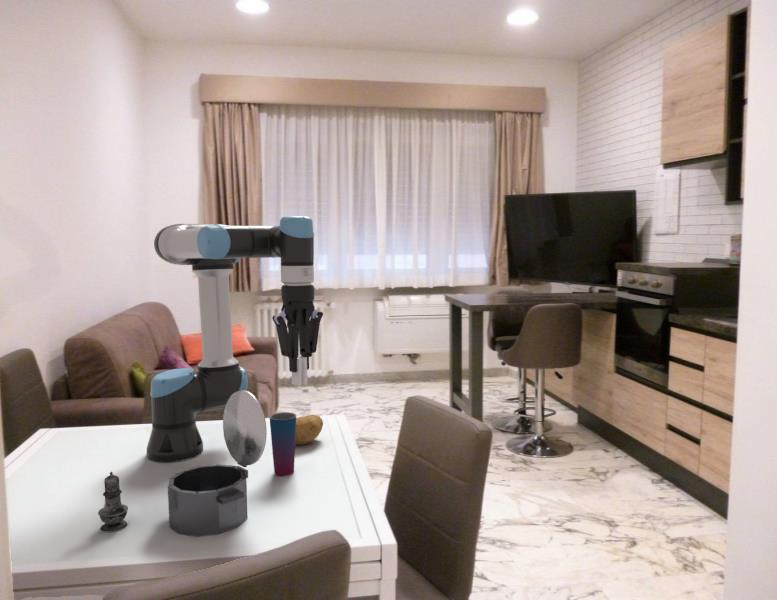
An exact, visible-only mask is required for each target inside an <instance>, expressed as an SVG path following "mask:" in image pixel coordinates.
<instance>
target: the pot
mask: <svg viewBox="0 0 777 600" xmlns="http://www.w3.org/2000/svg"><path fill="white" fill-rule="evenodd" d="M168 479H169V480H168V483H167V496H168V497H167V498H168V499H167V501H168V502H167V503H168V522H169V524H168V527H169V528H170V529H171V530H173V531H174V532H176V533H177V534H178V535H183V536H193V537H203V536H212V535H213V536H214V535H219V534H222V533H225V532H228V531H230V530H233V529H236V528H238V527H240V525H241V524H242V523H243V522H245V521H246V520H247V518H248V490H247V489H248V488H247V486H248V485H247V482H248V481H247V479H249V470H248V469H246V468H245V467H243V466H240V465H232V464H231V465H230V464H221V463H217V464H216V463H214V464H206V465H198V466H194V467H191V468H187V469H184V470H180V471H177V472H175V473H174V475H173V476H171V477H169V478H168Z"/></svg>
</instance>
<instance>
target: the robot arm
mask: <svg viewBox="0 0 777 600" xmlns="http://www.w3.org/2000/svg"><path fill="white" fill-rule="evenodd" d="M314 236H315V233H314V225H313V219H312V218H311V217H310V216H297V215H296V216H294V215H293V216H292V215H291V216H282V217H281V218H280V220H279V225H227V224H222V223H221V224H220V223H176V224H175V223H174V224H170V225H168V226H165V227H163V228H162V229H160V230H159V231H158V232H157V233H156V235H155V238H154V242H153V245H154V247H153V248H154V250H155V252H156V253H155V254H157V256H158V257H159V258H160V259H161V260H163V261H165V262H166V263H169V264H173V265H178V266H191V269H192V270H191V271H192V273H194V275H195V276H196V277H198V278H197V279H198V280H197V281H198V295H199V311H200V312H199V313H200V331H201V333H200V334H201V349H202V352H201V353H202V359H201V361H200V362H199V363H198V364H197V372H196V371H195V370H194V369H193V368H189V367H183V368H174V369H169V370H166V371H163V372H160V373H158V374H156V375H155V376H154V377H152V378H151V380H150V381H151V382H150V393H149V395H150V396H149V397H150V404H151V406H150V407H151V425H152V426H151V427H152V428H151V433H150V436H149V439H148V442H147V446H146V458H147V459H148V460H150V461H152V462H156V463H157V462H158V463H174V462H182V461H186V460H191V459H193V458H196V457H197V456H199V455H201V454H202V453H203V452H204V442H203V439H202V437H201V434H200V432H199V429H198V427H197V418H196V416H197V415H196V414H201V413H205V412H211V411H217V410H222V409H225V406H226V403H227V401H228V399H229V398H230V397H231V395H232V394H233V393H235V392H237V391H248V385H249V384H248V381H249V380H248V376H247V374H246V373H247V372H246V370H245V368H244V367H242V366H240V365H239V360H237V358H235V356H234V352H233V333H232V332H233V331H232V315H231V312H232V311H231V295H230V279H229V278H230V277H229V276H230V274H231V273H233V271H234V265H235V264H237V263H238V262H239V261H240V259H255V258H256V259H257V258H260V259H261V258H262V259H263V258H272V259H273V258H280V283H282V284H283V285H281V289H280V290H281V292H280V294H281V301H282V306H281V311H280V312H279V313H278V314H277V315H276V314H275V315H272V318H271V319H272V321H273V323H274V324H275V329H276V333H277V337H278V344H279V348H280V353H281V356H284V357H287V358H288V362H289V363H288V366H289V368H288V370H289V372H290V373H291V385H292V386H297V387H302V386H308V370H310V358H311V357H312V356H313V353H316V352H317V347H318V340H319V332H320V326H321V321H322V318H323V316H324V312H323V311H319V310H317V309H315V305H314V300H315V286H314V284H312V283H314V282H315V267H314V264H315V263H314V260H315V258H314V256H315V255H314V253H315V251H314V249H315V246H314V242H315V240H314V239H315V237H314Z"/></svg>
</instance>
